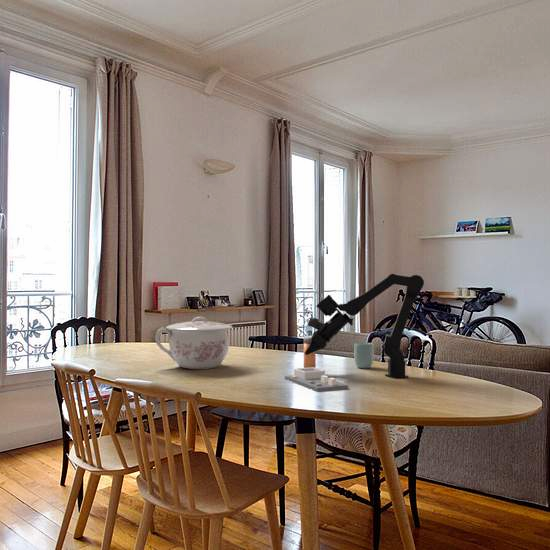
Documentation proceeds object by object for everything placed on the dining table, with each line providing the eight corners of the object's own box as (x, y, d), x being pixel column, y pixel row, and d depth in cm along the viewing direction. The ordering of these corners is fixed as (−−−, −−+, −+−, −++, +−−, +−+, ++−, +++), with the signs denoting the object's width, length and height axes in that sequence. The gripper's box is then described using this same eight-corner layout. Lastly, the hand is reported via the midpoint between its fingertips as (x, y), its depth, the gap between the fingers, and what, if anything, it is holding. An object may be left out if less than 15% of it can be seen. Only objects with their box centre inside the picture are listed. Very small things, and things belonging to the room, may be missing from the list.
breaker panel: (348, 388, 187) (348, 377, 187) (316, 391, 182) (316, 380, 182) (313, 376, 209) (313, 366, 209) (284, 379, 204) (284, 368, 204)
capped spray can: (317, 372, 215) (317, 338, 215) (307, 373, 213) (307, 338, 213) (312, 370, 219) (312, 337, 219) (301, 371, 217) (301, 337, 217)
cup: (351, 368, 228) (351, 343, 229) (357, 365, 235) (358, 342, 235) (369, 370, 225) (370, 345, 225) (375, 367, 232) (376, 343, 232)
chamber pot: (245, 365, 234) (245, 316, 234) (205, 375, 211) (205, 320, 211) (193, 359, 249) (193, 313, 249) (149, 368, 225) (150, 317, 225)
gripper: (322, 308, 225) (295, 335, 227) (317, 311, 206) (287, 340, 208) (341, 328, 223) (314, 355, 225) (338, 333, 205) (308, 362, 207)
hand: (306, 353), depth 216 cm, fingers closed on capped spray can, 5 cm apart
